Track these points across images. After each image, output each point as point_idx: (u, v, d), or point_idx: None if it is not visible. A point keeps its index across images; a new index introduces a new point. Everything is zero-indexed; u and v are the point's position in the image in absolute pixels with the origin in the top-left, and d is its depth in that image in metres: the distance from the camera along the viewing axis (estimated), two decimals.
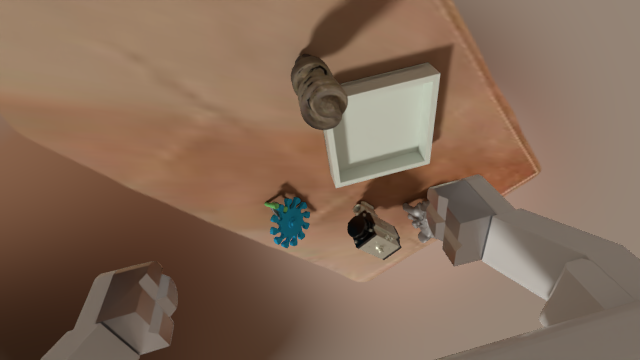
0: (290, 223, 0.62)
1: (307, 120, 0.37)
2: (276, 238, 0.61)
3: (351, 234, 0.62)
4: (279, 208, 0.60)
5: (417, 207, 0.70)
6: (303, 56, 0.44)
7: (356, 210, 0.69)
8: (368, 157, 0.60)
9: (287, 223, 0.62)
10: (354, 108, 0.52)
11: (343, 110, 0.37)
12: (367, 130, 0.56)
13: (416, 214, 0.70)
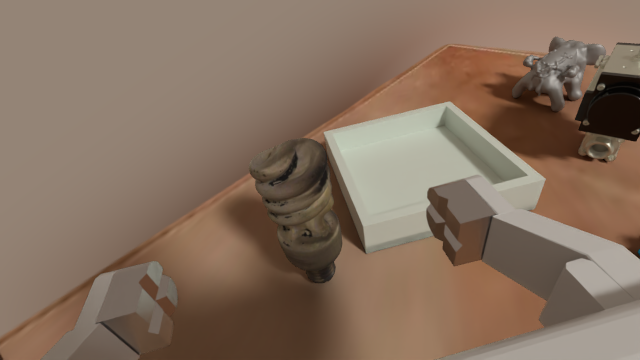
0: None
1: (305, 176, 0.21)
2: None
3: None
4: None
5: (542, 88, 0.45)
6: (306, 270, 0.30)
7: (606, 152, 0.36)
8: (473, 167, 0.38)
9: None
10: (387, 200, 0.36)
11: None
12: (421, 179, 0.38)
13: (554, 81, 0.44)
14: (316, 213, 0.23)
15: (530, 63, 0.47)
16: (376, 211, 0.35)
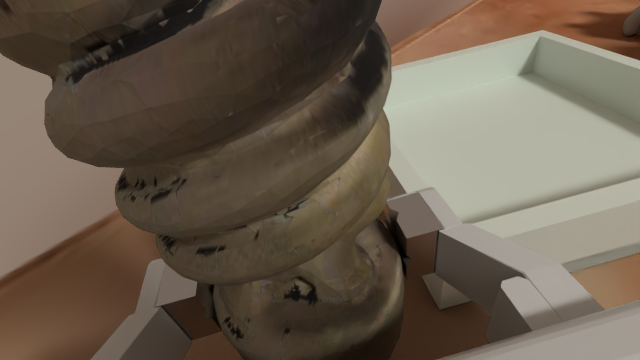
0: None
1: None
2: None
3: None
4: None
5: None
6: None
7: None
8: (619, 129, 0.20)
9: None
10: (466, 192, 0.18)
11: None
12: (523, 153, 0.20)
13: None
14: (335, 232, 0.05)
15: None
16: None
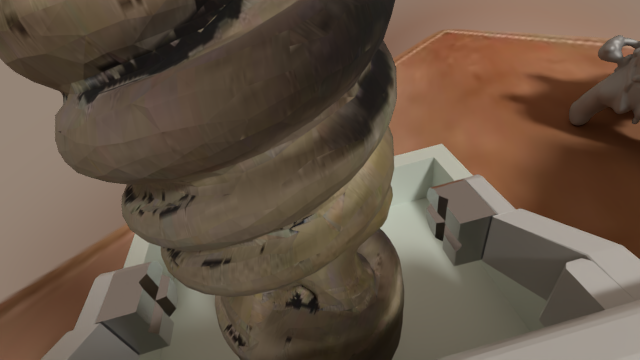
0: None
1: (280, 19, 0.03)
2: None
3: None
4: None
5: None
6: None
7: None
8: None
9: None
10: None
11: None
12: None
13: None
14: (340, 246, 0.05)
15: (617, 52, 0.21)
16: None
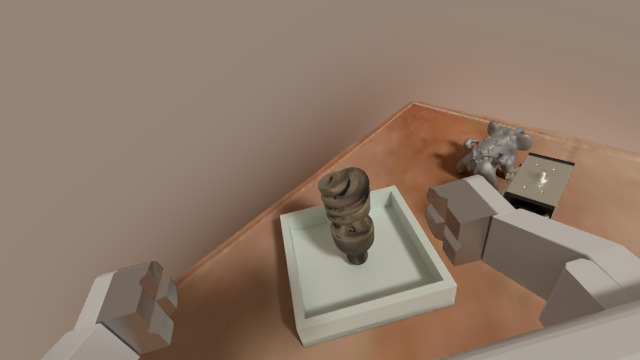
0: None
1: (357, 193, 0.33)
2: None
3: None
4: None
5: (478, 171, 0.50)
6: (347, 256, 0.43)
7: None
8: (408, 256, 0.43)
9: None
10: (328, 291, 0.41)
11: None
12: (361, 268, 0.42)
13: (488, 167, 0.49)
14: (361, 216, 0.35)
15: (469, 145, 0.52)
16: (317, 303, 0.40)
